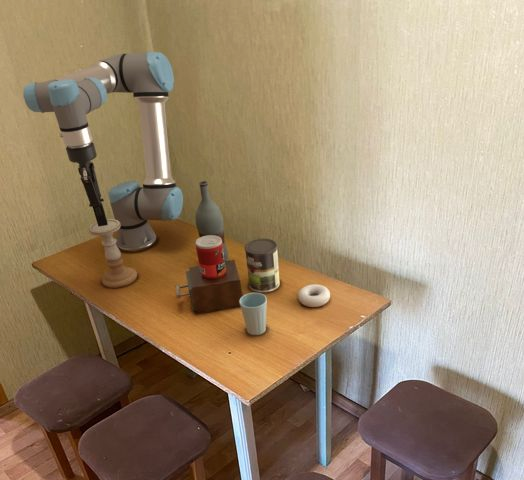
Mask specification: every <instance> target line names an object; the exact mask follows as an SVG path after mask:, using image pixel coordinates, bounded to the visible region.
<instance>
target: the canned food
mask: <svg viewBox="0 0 524 480" xmlns="http://www.w3.org/2000/svg"><path fill="white" fill-rule="evenodd" d="M195 249H196V255H197V260H198V261H197V262H198V266H200V271H201V274H202V276H203V277H205V278H207V279H216V278H220V277H222V276H223V275H224V274H225V273H226V265H225V258H224V251H223V244H222V240H221V238H220V237H219V236H215V235H207V236H203V237H199V238H197V239H196V240H195Z"/></svg>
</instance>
